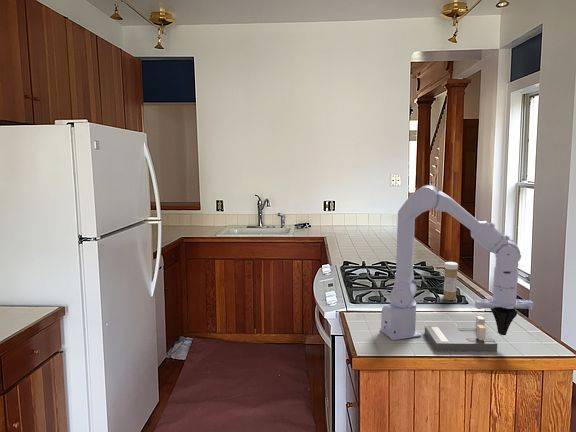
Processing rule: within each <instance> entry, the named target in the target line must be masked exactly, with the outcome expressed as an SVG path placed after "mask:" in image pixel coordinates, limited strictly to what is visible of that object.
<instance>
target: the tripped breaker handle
mask: <svg viewBox="0 0 576 432" xmlns="http://www.w3.org/2000/svg"><path fill="white" fill-rule="evenodd" d="M486 331H487V328H486V326H485V325H484V326H483V325H477V330H476V337H477V338H478V339H479V340H485V335H486V333H487V332H486Z"/></svg>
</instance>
